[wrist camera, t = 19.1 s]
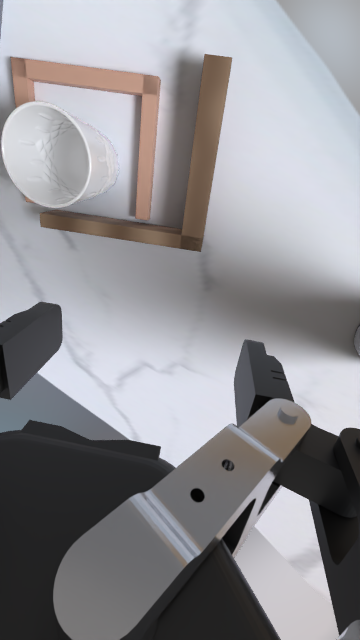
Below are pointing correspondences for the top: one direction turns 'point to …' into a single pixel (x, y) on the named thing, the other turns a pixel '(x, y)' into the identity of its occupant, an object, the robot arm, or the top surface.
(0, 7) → the straight bar
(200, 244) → the wooden l-shaped bracket
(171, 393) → the top surface
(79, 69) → the corral frame
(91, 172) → the white cup
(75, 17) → the top surface
